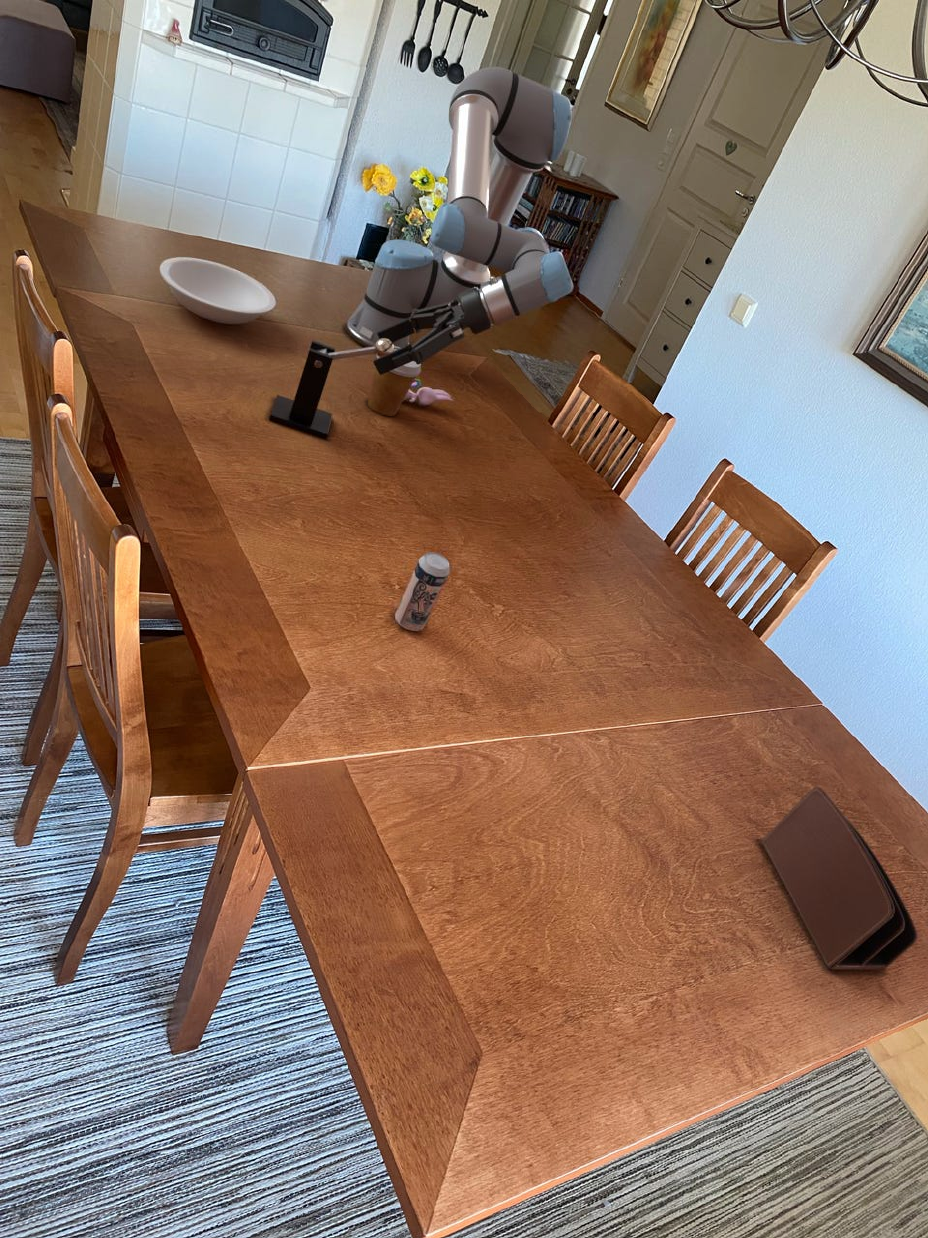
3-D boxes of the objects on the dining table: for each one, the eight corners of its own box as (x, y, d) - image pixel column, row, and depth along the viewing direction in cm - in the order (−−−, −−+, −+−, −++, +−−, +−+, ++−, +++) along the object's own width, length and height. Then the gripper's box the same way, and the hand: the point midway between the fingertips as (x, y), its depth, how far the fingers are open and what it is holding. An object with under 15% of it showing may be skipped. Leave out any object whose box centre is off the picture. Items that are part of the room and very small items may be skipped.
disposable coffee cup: (406, 407, 198) (426, 357, 191) (399, 425, 190) (419, 373, 184) (365, 390, 197) (383, 339, 190) (356, 407, 189) (374, 354, 182)
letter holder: (827, 971, 117) (897, 908, 110) (758, 841, 132) (816, 778, 124) (884, 971, 121) (956, 910, 113) (811, 845, 136) (870, 784, 128)
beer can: (401, 633, 137) (429, 571, 131) (389, 612, 140) (416, 550, 133) (428, 632, 140) (457, 571, 133) (416, 612, 143) (444, 551, 136)
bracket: (330, 418, 181) (353, 350, 173) (326, 439, 174) (349, 369, 166) (275, 399, 178) (296, 329, 170) (268, 420, 171) (289, 347, 163)
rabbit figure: (388, 409, 197) (454, 413, 203) (393, 384, 194) (460, 388, 199) (382, 395, 202) (446, 398, 207) (386, 370, 198) (452, 374, 203)
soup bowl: (284, 323, 208) (292, 296, 204) (240, 353, 188) (247, 323, 184) (187, 276, 207) (193, 248, 203) (132, 301, 187) (137, 270, 183)
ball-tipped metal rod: (396, 352, 170) (392, 333, 168) (395, 360, 167) (391, 341, 165) (315, 364, 171) (311, 346, 169) (313, 372, 169) (308, 353, 166)
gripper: (475, 264, 171) (372, 310, 176) (480, 310, 152) (364, 361, 156) (490, 301, 176) (390, 345, 180) (497, 351, 156) (384, 399, 161)
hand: (378, 353), depth 168 cm, fingers open, 13 cm apart
